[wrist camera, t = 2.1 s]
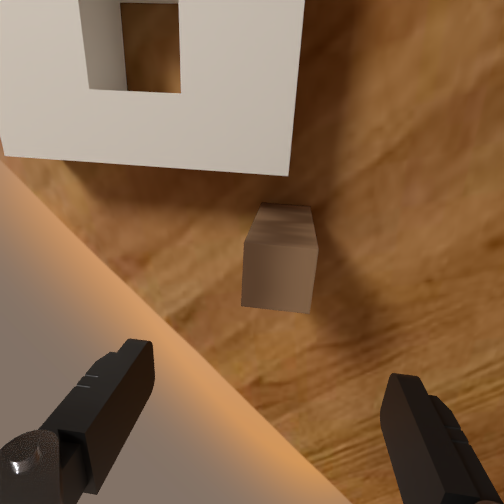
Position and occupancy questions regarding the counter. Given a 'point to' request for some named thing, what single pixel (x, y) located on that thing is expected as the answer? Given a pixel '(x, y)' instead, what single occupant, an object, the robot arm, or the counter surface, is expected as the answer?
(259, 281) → the peg
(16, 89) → the socket board
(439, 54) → the counter surface
